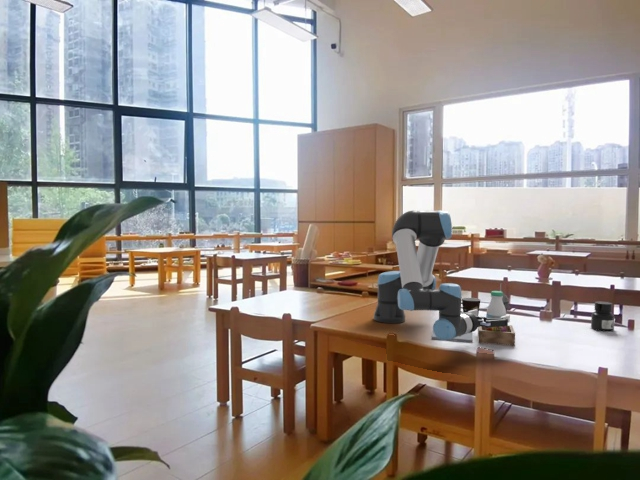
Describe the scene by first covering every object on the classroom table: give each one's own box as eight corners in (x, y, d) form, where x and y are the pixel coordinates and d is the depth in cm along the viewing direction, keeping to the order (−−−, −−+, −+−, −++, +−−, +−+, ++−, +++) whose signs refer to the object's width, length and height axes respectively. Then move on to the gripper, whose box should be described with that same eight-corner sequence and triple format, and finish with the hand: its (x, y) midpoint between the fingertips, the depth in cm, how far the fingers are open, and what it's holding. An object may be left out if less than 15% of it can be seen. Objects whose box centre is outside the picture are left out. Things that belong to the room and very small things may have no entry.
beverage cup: (507, 325, 217) (508, 282, 216) (508, 329, 210) (509, 284, 209) (490, 324, 220) (492, 281, 218) (491, 327, 213) (492, 283, 212)
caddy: (478, 342, 188) (478, 330, 187) (477, 334, 201) (478, 323, 200) (514, 345, 184) (515, 333, 183) (511, 337, 196) (512, 325, 196)
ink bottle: (607, 332, 205) (608, 305, 204) (586, 328, 212) (587, 302, 212) (618, 329, 210) (619, 303, 210) (597, 325, 218) (598, 300, 217)
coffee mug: (477, 317, 232) (478, 297, 232) (481, 322, 224) (482, 301, 223) (453, 317, 234) (454, 297, 233) (456, 321, 225) (457, 300, 224)
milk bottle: (482, 337, 196) (483, 290, 194) (500, 337, 196) (501, 289, 195) (490, 342, 188) (492, 293, 187) (509, 342, 189) (510, 293, 187)
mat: (431, 339, 193) (431, 336, 193) (434, 329, 208) (434, 327, 208) (472, 342, 188) (472, 340, 188) (472, 332, 203) (472, 330, 203)
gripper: (435, 327, 183) (464, 319, 198) (495, 340, 165) (523, 330, 179) (435, 308, 183) (464, 301, 197) (496, 319, 165) (523, 311, 179)
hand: (492, 315), depth 188 cm, fingers open, 13 cm apart
